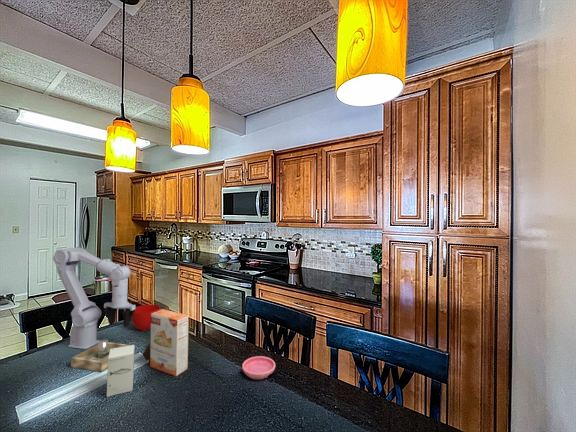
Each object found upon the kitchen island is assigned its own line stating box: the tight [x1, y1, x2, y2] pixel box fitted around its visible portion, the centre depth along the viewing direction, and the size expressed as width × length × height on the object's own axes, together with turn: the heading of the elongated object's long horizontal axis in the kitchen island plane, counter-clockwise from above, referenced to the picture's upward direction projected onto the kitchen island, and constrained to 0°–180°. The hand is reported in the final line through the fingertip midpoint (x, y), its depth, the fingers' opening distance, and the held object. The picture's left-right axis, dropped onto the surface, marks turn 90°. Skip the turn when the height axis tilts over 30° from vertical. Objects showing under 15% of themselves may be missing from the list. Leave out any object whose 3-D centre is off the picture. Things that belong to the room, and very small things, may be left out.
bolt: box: [142, 341, 151, 361], centre depth 115 cm, size 6×5×15 cm
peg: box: [97, 339, 109, 359], centre depth 107 cm, size 3×3×7 cm
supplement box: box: [106, 344, 135, 398], centre depth 90 cm, size 7×7×13 cm
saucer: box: [241, 355, 276, 380], centre depth 101 cm, size 12×12×3 cm
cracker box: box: [149, 308, 190, 377], centre depth 102 cm, size 14×6×21 cm, turn 65°
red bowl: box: [131, 304, 161, 332], centre depth 137 cm, size 13×17×10 cm
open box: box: [70, 341, 130, 373], centre depth 107 cm, size 14×14×4 cm
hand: (119, 325), depth 119 cm, fingers open, 7 cm apart
